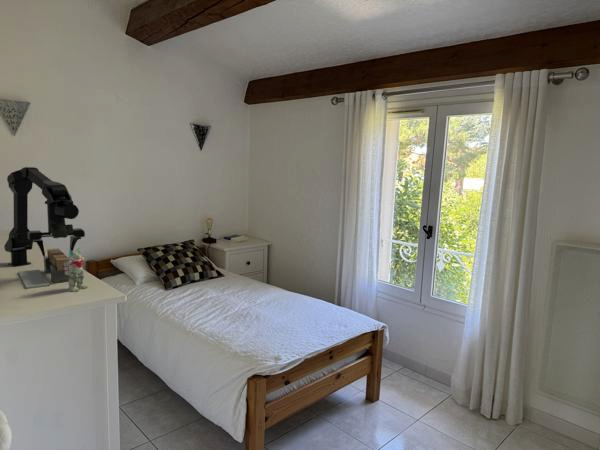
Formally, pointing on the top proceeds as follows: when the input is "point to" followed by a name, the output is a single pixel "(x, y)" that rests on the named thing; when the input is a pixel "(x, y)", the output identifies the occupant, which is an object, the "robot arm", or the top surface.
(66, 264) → the figurine
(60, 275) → the rack
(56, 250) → the rail
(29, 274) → the pad
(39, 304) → the top surface
